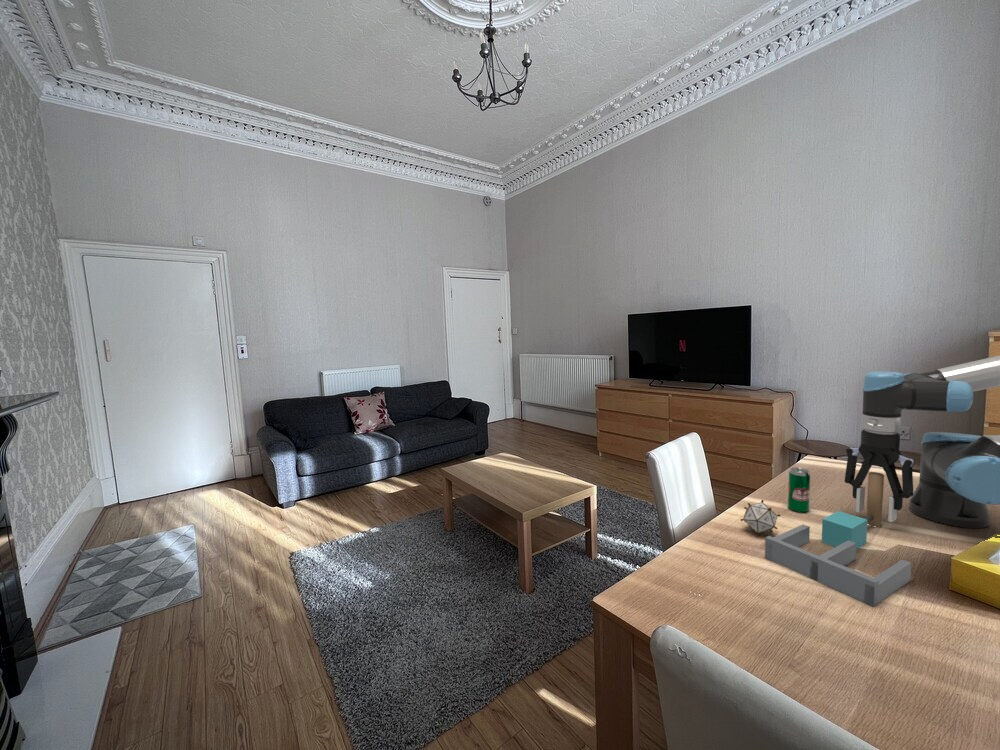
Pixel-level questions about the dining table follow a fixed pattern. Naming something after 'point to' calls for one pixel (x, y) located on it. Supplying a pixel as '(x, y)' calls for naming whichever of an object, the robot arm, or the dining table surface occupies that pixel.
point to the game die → (760, 517)
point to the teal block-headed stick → (852, 527)
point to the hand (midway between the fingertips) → (875, 515)
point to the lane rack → (835, 567)
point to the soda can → (799, 489)
